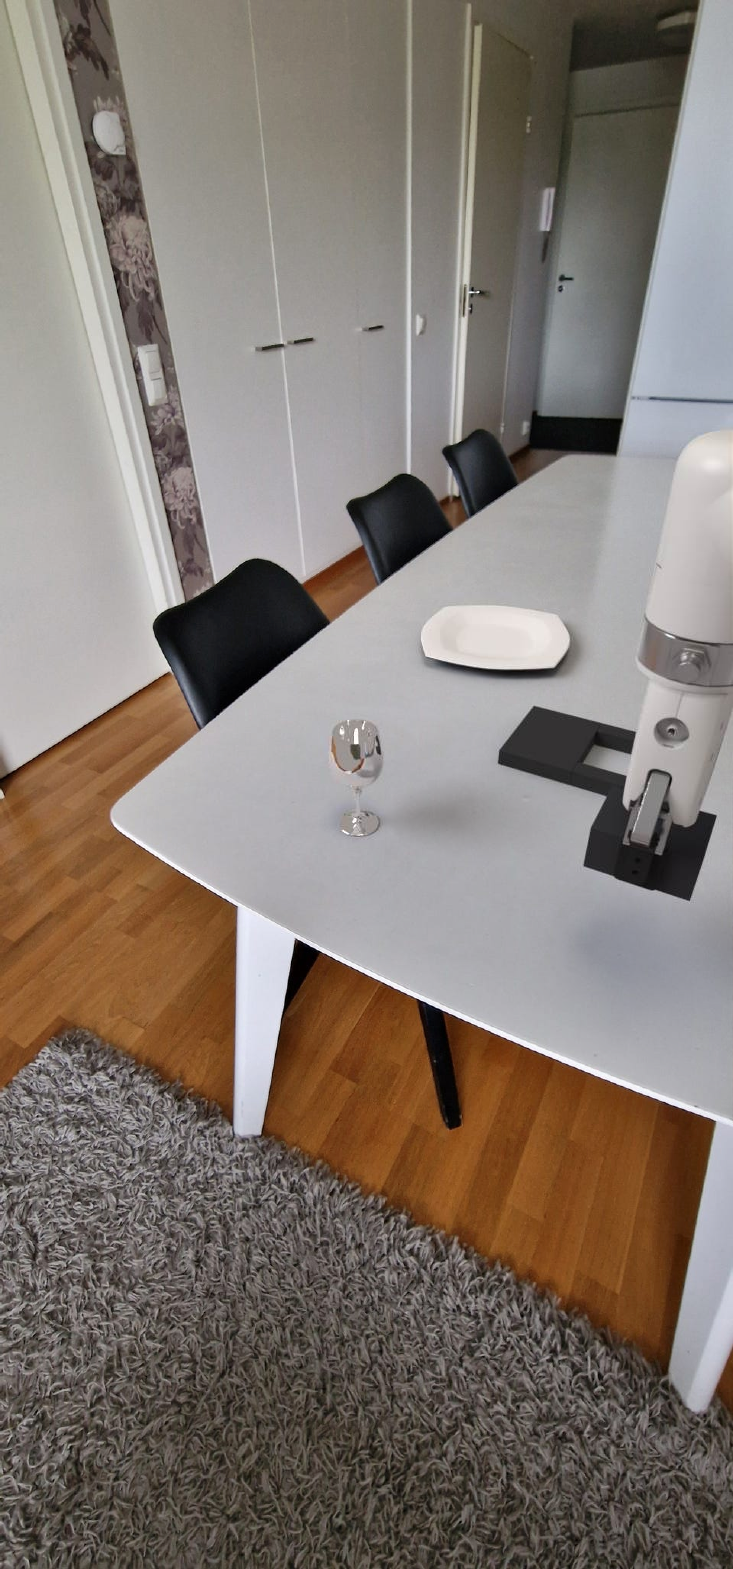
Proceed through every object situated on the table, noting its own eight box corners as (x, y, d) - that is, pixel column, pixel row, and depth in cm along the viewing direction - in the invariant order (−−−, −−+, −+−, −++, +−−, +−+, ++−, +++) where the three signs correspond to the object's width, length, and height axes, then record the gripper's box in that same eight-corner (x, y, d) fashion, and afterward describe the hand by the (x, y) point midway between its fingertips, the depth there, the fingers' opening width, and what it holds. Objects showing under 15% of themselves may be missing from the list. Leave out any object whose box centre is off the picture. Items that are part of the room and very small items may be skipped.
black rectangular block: (704, 853, 56) (717, 814, 54) (689, 901, 52) (703, 861, 50) (604, 823, 60) (612, 786, 57) (582, 866, 56) (590, 827, 53)
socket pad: (654, 750, 87) (658, 737, 86) (630, 803, 79) (633, 789, 78) (532, 718, 94) (533, 705, 93) (497, 763, 86) (499, 750, 85)
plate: (567, 687, 101) (569, 674, 99) (408, 672, 105) (408, 660, 104) (569, 621, 118) (570, 610, 117) (433, 611, 123) (433, 600, 122)
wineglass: (322, 830, 77) (315, 738, 69) (348, 801, 81) (343, 711, 74) (369, 846, 74) (367, 753, 67) (393, 815, 78) (393, 724, 71)
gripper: (745, 723, 37) (671, 948, 48) (780, 609, 49) (714, 810, 60) (604, 692, 41) (564, 909, 51) (668, 592, 52) (625, 785, 63)
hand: (645, 854), depth 56 cm, fingers closed on black rectangular block, 6 cm apart
